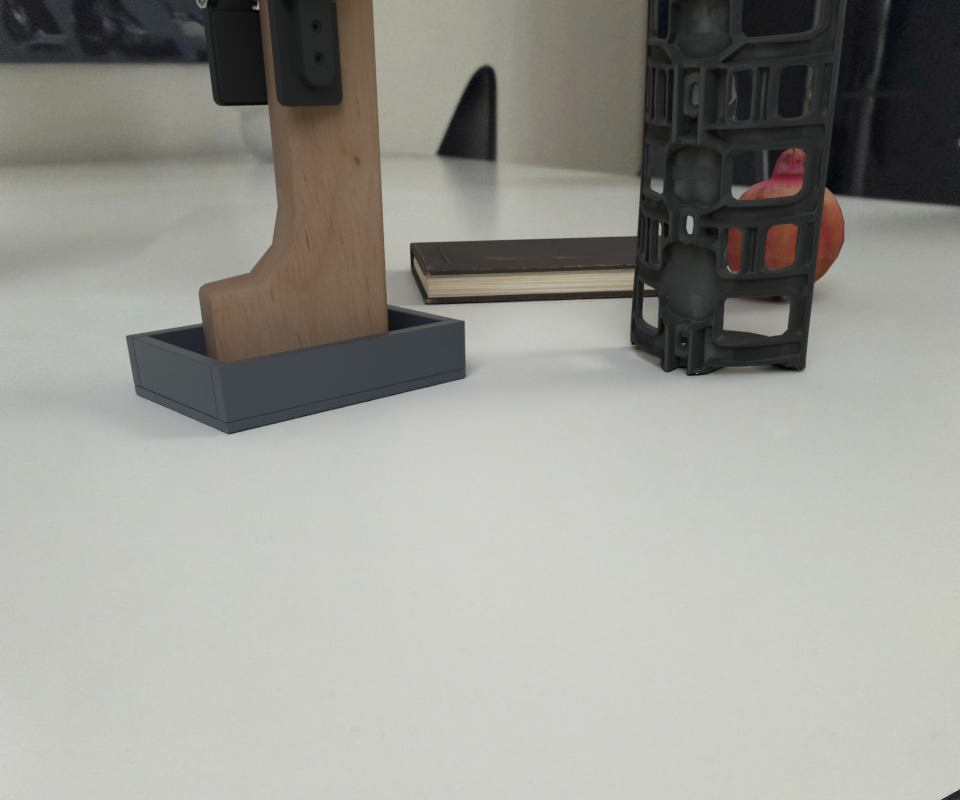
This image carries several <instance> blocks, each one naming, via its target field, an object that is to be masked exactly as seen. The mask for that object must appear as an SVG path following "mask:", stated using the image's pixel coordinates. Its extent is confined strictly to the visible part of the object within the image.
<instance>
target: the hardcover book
mask: <svg viewBox="0 0 960 800" xmlns="http://www.w3.org/2000/svg"><path fill="white" fill-rule="evenodd" d="M636 244H637V235H624V236H623V235H621V236H619V235H618V236H592V237H591V236H587V237H554V238H552V237H551V238H550V237H549V238H524V239H523V238H521V239H519V238H518V239H489V240H486V239H484V240H483V239H482V240H455V241H454V240H453V241H452V240H450V241H422V242H421V241H419V242H416V241H415V242H410V243H409V258H410V259H409V260H410V262H409V263H410V271H411V273H412V276H413V278H414V281H415V283H416V285H417V288H418V289H419V293H420V295H421V297H422V299H423V301H424V304H425V305H430V304H462V303H463V304H464V303H488V302H515V301H542V300H543V301H544V300H545V301H546V300H547V301H548V300H568V299H569V300H571V299H596V298H597V299H599V298H600V299H601V298H602V299H603V298H625V297H627V298H628V297H629V298H630V297H633V284H634V270H635V257H636ZM660 255H661V234H659V237H658V260H659V263H660ZM727 267H728V264H727ZM653 296H654V297H655V296H657V297H658V292H657V291H656V290H655V289H654V288H652V287H650V286H648V285H646V284H644V297H653Z"/></svg>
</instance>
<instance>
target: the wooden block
mask: <svg viewBox="0 0 960 800" xmlns="http://www.w3.org/2000/svg"><path fill="white" fill-rule="evenodd" d="M330 2H336V6H337V21H338V35H339V49H340V64H341V78H342V92H343V99H342V102H341V103H340V104H339V105H331V106H292V107H287V106H282V105H280V103H279V102H278V100H277V96H276V85H275V75H274V65H273V55H272V44H271V34H270V24H269V14H268V3H267V0H258V10H259V12H260V23H261V33H262V44H263V55H264V65H265V76H266V87H267V97H268V105H267V106H268V107H267V109H268V117H269V129H270V138H271V139H270V141H271V149H272V161H273V171H274V172H273V173H274V181H275V190H276V191H275V193H276V202H277V207H276V208H277V209H276V215H275V220H274V228H273V234H272V241H271V244H270V246H269V247H268V249H266V251H265V252H264V254H262V256H261V257H260V258H259V260H258V261H257V262H256V263H255V265H254V266H253V267H252V268H251V270H250V271H249V272H246V273H242V274H239V275H234V276H229V277H226V278H222V279H218V280H215V281H210V282H207V283H204V284H202V285H201V286H199V288H198V289H199V290H198V298H199V300H198V301H199V307H200V315H201V316H200V317H201V321H202V322H201V323H202V324H203V331H204V339H205V346H206V354H207V357H210V358H213V359H215V360H218V361H221V362H224V363H227V362H233V361H238V360H243V359H248V358H254V357H259V356H264V355H269V354H275V353H280V352H285V351H290V350H295V349H301V348H306V347H311V346H316V345H322V344H327V343H332V342H337V341H343V340H348V339H353V338H358V337H363V336H369V335H374V334H379V333H384V332H389V330H388V311H387V304H388V297H387V295H388V294H387V274H386V273H387V272H386V251H385V229H384V228H385V227H384V208H383V207H384V206H383V187H382V167H381V164H382V163H381V147H380V145H381V144H380V128H379V127H380V126H379V125H380V123H379V105H378V104H379V103H378V84H377V83H378V81H377V63H376V61H377V59H376V40H375V24H374V23H375V22H374V21H375V20H374V0H339V1H330Z"/></svg>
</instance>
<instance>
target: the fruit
mask: <svg viewBox="0 0 960 800" xmlns="http://www.w3.org/2000/svg"><path fill="white" fill-rule="evenodd" d="M805 156H806V153H805V152H804V150H803V149H798V148H788V149H785V151H783V152H782V153H781V154H780V156H779V157H778V159H777V160H776V163H775V165H774V168H773V171H772V173H771V177H770V178H769V179H767V180H766V179H765V180H763V181H760V182H758V183H755V184H752V185H751V186H750V187H749V188H748V189H746V190H745V191H744V192H743V193H742V194H741V195H740V196H739V198H738V199H737V200H754V199H767V198H776V197H784V196H792V195H794V194H796V193H798V192H799V191H800V190H801V188H802V184H803V175H804V166H805ZM797 232H798V227H797V226H795V225H793V224H783V225H776V226H772V227H771V228H770V229H769V230H768V234H767V242H766V253H765V265H766V266H767V267H768V268H770V269H781V268H785V267H787V266H789V265H791V264H792V263H793V262H795V251H796V241H797ZM844 243H845V218H844V214H843V211H842V208H841V206H840V203H839V201H838V199H837V197H836V196H835V195H834V193H833V192H832V191H831V190H830V189H829V188H828V187H825V195H824V204H823V213H822V221H821V230H820V239H819V248H818V256H817V264H816V272H815V282H814V284H815V283H816V282H818V281H820V279H822V277H824V276H825V275H826V273H827V272H828V271H829V270H830V268H831V267H832V266H833V264H834V263H835V262H836V260H837V259H838V258H839V256H840V254H841V251H842V249H843V245H844ZM741 249H742V232H741V231H740V230H739V229H738V228H731V229H729V238H728V252H727V264H728V266H727V268H728V269H729V271H739V270H740V263H741ZM768 297H769V298H770V300H773V301H774V302H779V301H780V300H782V299H783V298H784V297H785V296H768Z"/></svg>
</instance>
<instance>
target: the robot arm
mask: <svg viewBox="0 0 960 800" xmlns="http://www.w3.org/2000/svg"><path fill="white" fill-rule="evenodd" d="M330 1H339V0H267V3H268V14H269V24H270V34H271V44H272V55H273V65H274V75H275V85H276V96H277V100H278V102H279V103H280V105H282V106H287V107H292V106H331V105H339V104H340V103H341V102H342V99H343V92H342V78H341V64H340V49H339V35H338V21H337V6H336V2H330ZM195 2H196V5H197V7H198V8H200V9H201V12H202V21H203V28H204V36H205V37H204V38H205V46H206V54H207V60H208V68H209V76H210V85H211V94H212V99H213V102H214V103H215V104H216V105H217V106H218V107H250V106H252V107H254V106H268V97H267V87H266V76H265V65H264V55H263V44H262V33H261V23H260V12H259V9H258V7H259V1H258V0H195Z"/></svg>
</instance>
